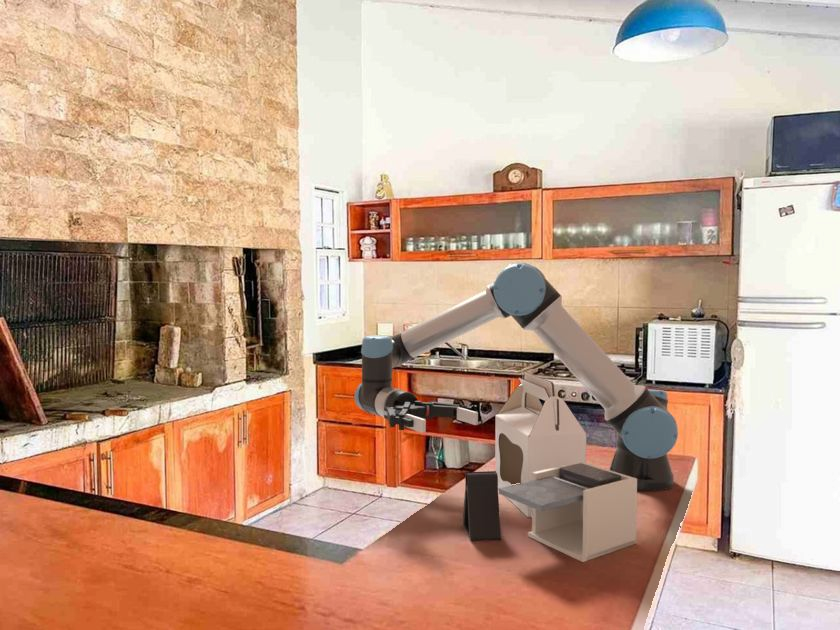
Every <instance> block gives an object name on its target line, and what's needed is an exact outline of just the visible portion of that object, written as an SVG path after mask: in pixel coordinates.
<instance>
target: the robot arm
mask: <svg viewBox="0 0 840 630" xmlns="http://www.w3.org/2000/svg"><path fill="white" fill-rule="evenodd" d="M486 287H487V288H486V290H484V291H482V292H479V294H478V293H477V294H476V295H474V296H472V297H470V298H468V299H466V300H464V301H462V302H460V303H458V304H456V305H454V306H452V307H450V308H448V309H446V310H444V311H442V312H440V313H438V314H436V315H434V316H432V317H430V318H428V319H426V320H424V321H422V322H420V323H418V324H416V325H414V326H412V327H409V328H408V329H406V330H404V331H402V332H400V333H398V334H396V335H394V336H392V337H390V336H388V335H379V334H378V335H374V334H373V335H366V336H364V337H363V338H362V341H361V350H360V353H361V383H360V384H359V385H358V386H357V388H356V390H355V392H354V402H355V404H356V406H357V407H358V408H359V409H361V410H363V411H364V412H366V413H368V414H371V415H375V416H378V417H381V418H384V419H385V420H387V422H388V425H389V427H391V428H396V425H398V430H399V431H404V430H405V428H407V429H410V430H413V431H416V432H419V433H421V434H425V433H426V432H427V431H426V429H427V428H426V427H427V426H426V425H427V424H426V423H427V420H426V419H432V418H433V417H436V418H450V419H456V420H457V421H461V422H464V423H467V424H471V425H473V426H478V425H479V412H478V411H474V410H471V409H468V406H467V405H466V404H463V403H462V402H460V403H459V404H456V403H455V404H454V403H447V402H446V403H445V402H438V401H434V400H430V401H429V402H425V401H422V400H419V399H418V398H417V396H416V395H415V394H414V393H412V392H410V391H406V390H402V389H399V388H395V387H393V369H394V368H397V367H399V366H401V365H404V364H405V363H407V362H409V361H411V360H413V359H414V358H416V357H418V356H421V355H424V354H425V353H427V352H430V351H431V350H434V349H435V348H438V347H440V346H442V345H444V344H446V343H448V342H449V341H453V339H457V338H458V337H460V336H462V335H465V334H466V333H467V334H468V333H469V332H470V331H472V330H475V329H477V328H479V327H481V326H483V325H486V324H487V323H490V322H492V321H494V320H495V319H497V318H502V319H504V320H505V319H507V318H509V317H512V319H514V320H515V322H516V323H517V324H518V325H519V326H520V328H522V329H523V331H524V330H525V331H533V332H534V333H535V334H536V335H537V336H538V337H539V338H540V340H541V341H542V342H543V343H544V344H545V345H546V346H547V347H548V348H549V350H551V352H553V354H554V355H555V356H556V357H557V358H558V360H559V361H561V363H562V364H563V365H564V366H565V367H566V368H567V369H568V371H570V373H571V374H572V375H573V376H574V377H575V378H576V379H577V380H578V381H579V382H580V384H581V385H582V386H583V388H585V389H586V390H587V391H588V392H589V394H590V395H591V396H592V397H593V398H594V399H595V400H596V401H597V402H598V403H599V405H600V406H601V407H602V408H603V409H604V420H605V421H606V422H607V423H608V424H609V425H610V427H611V428H612V429H613V430H614V432H616V450H615V453H614V456H613V457H612V461H611V464H610V466H609V469H608V470H610V471H613V472H617V473H620V474H623V475H627V476H630V477H633V478H637V491H648V492H649V491H650V492H651V491H653V492H654V491H663V490H664V491H665V490H668V489H671V488H672V487H673V486H674V473H673V471H672V467H671V464H670V460H669V457H668V453H670V452H671V451H672V450H673V448H674V447H675V445H676V443H677V440H678V437H679V436H678V434H679V431H678V424H677V421H676V419H675V417H674V416H673V415H672V414H671V413H670V411H669V410H668V404H669V399H668V393H667V391H665V390H661V389H649V388H647V387H646V386H645V385H640V384H635V383H633V382H632V381H631V380H630V379H629V378H628V377H627V375H626V374H625V373H624V372H623V371H622V370H621V369H620V368H619V366H617V365H616V363H614V361H613V360H612V359H611V358H610V357H609V356H608V354H607V353H605V352H604V350H603V349H602V348H601V347H600V346H599V345H598V343H596V342H595V340H593V338H592V337H591V336H590V335H589V334H588V333H587V332H586V330H585V329H583V328H582V326H581V324H579V323H578V322H577V321H576V320H575V319H574V317H572V315H570V312H569V313H568V311H567V310H566V309H565V308H564V307H563V304H562V301H563V299H562V295H561V294H560V293H559V291H557V290H556V288H555V286H553V285H552V284H551V283H550V282H549V281H548V280H547V278H546V276H545V274H544V273H543V272H542V271H541V270H540V269H539V268H537V267H536V266H533V265H531V264H529V263H526V262H516V263H515V262H514V263H512V264H509V265H507V266H506V267H505V268H503V269H501V271H500V272H499V273H498V274H497V276H496V279H495V281H493V282H491V283H489V284H488V285H487V286H486Z"/></svg>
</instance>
